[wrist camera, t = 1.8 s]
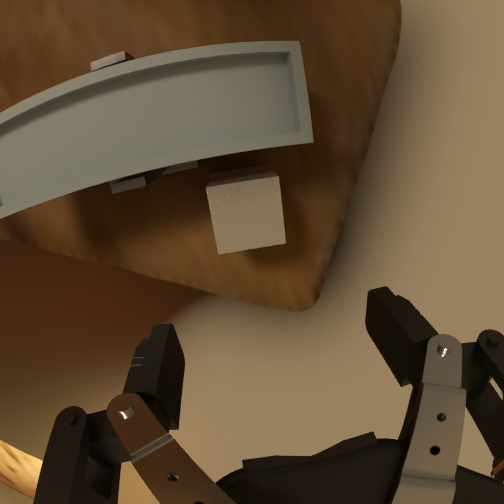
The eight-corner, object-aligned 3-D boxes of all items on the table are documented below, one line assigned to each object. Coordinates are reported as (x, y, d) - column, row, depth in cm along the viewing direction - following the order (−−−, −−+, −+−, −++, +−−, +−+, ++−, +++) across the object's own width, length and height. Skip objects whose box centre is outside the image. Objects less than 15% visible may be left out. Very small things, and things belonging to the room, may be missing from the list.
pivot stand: (96, 85, 25) (55, 74, 17) (182, 60, 25) (167, 35, 17) (113, 184, 30) (78, 206, 21) (199, 165, 30) (189, 180, 22)
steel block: (209, 173, 31) (205, 187, 23) (265, 164, 31) (278, 176, 24) (219, 225, 33) (218, 254, 26) (271, 216, 33) (285, 243, 26)
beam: (-16, 130, 17) (-31, 132, 14) (288, 48, 21) (299, 41, 19) (1, 215, 20) (-13, 224, 18) (301, 141, 25) (313, 142, 23)
